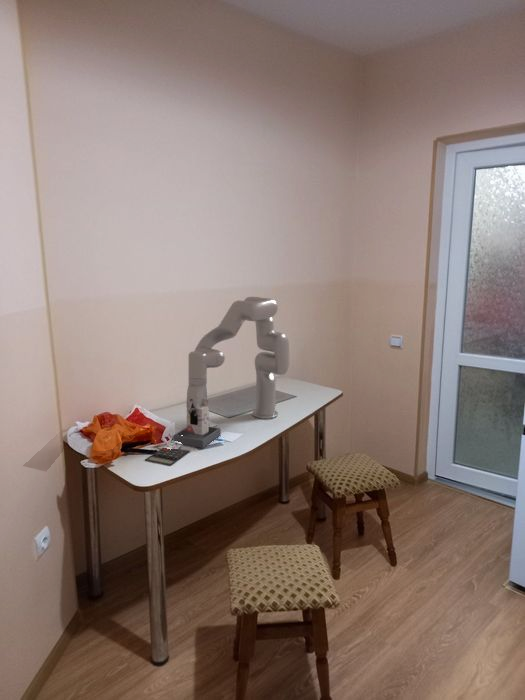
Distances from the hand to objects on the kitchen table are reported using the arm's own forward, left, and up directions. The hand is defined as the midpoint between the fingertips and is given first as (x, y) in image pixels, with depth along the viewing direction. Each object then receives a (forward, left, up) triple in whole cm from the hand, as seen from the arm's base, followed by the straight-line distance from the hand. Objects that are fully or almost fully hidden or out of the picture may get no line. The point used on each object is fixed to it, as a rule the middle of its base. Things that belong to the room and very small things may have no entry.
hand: (197, 421), depth 215 cm
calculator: (+20, -2, -9) cm, 22 cm away
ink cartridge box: (0, 0, -5) cm, 5 cm away
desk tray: (0, 0, -8) cm, 8 cm away
